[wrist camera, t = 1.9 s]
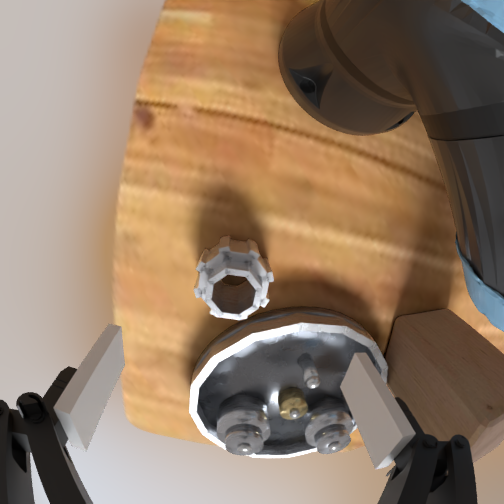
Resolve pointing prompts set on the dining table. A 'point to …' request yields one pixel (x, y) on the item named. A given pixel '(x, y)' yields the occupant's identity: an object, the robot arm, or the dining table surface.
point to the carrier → (280, 383)
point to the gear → (239, 264)
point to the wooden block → (448, 378)
